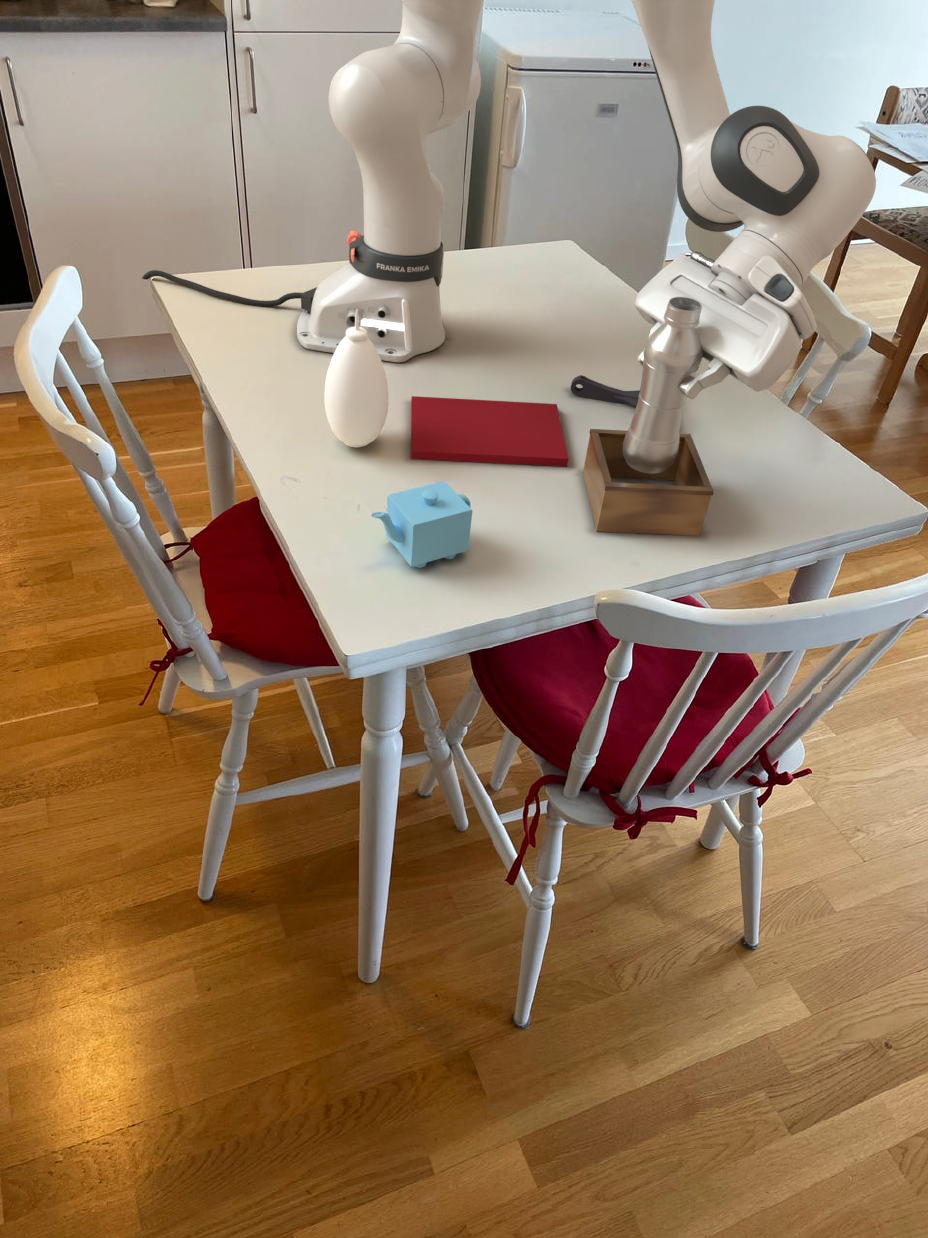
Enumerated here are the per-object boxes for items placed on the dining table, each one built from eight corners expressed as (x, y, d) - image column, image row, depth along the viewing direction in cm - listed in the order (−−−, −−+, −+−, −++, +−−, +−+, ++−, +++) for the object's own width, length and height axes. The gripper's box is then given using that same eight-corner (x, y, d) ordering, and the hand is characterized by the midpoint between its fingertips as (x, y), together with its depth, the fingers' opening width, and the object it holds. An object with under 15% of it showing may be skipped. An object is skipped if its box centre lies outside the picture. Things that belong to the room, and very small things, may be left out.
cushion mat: (410, 459, 121) (411, 450, 120) (411, 403, 131) (411, 395, 131) (567, 466, 123) (568, 458, 122) (555, 411, 133) (556, 403, 132)
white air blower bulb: (318, 431, 124) (315, 297, 112) (376, 424, 126) (379, 292, 115) (334, 463, 119) (333, 326, 107) (394, 455, 121) (399, 320, 109)
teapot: (382, 581, 102) (384, 524, 97) (358, 549, 106) (359, 493, 101) (479, 553, 107) (485, 498, 102) (452, 524, 111) (457, 469, 106)
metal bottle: (681, 462, 115) (724, 302, 102) (660, 487, 111) (703, 323, 98) (632, 444, 118) (668, 285, 104) (609, 468, 113) (645, 305, 100)
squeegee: (574, 370, 143) (577, 353, 141) (674, 386, 141) (678, 368, 140) (564, 418, 132) (567, 400, 130) (672, 435, 131) (676, 417, 129)
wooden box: (595, 531, 112) (605, 486, 108) (581, 472, 122) (590, 428, 118) (700, 536, 113) (714, 491, 109) (678, 477, 123) (690, 433, 119)
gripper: (677, 228, 108) (594, 325, 110) (813, 301, 96) (717, 408, 98) (697, 262, 113) (616, 354, 115) (828, 335, 101) (736, 436, 103)
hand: (663, 379), depth 106 cm, fingers closed on metal bottle, 6 cm apart
